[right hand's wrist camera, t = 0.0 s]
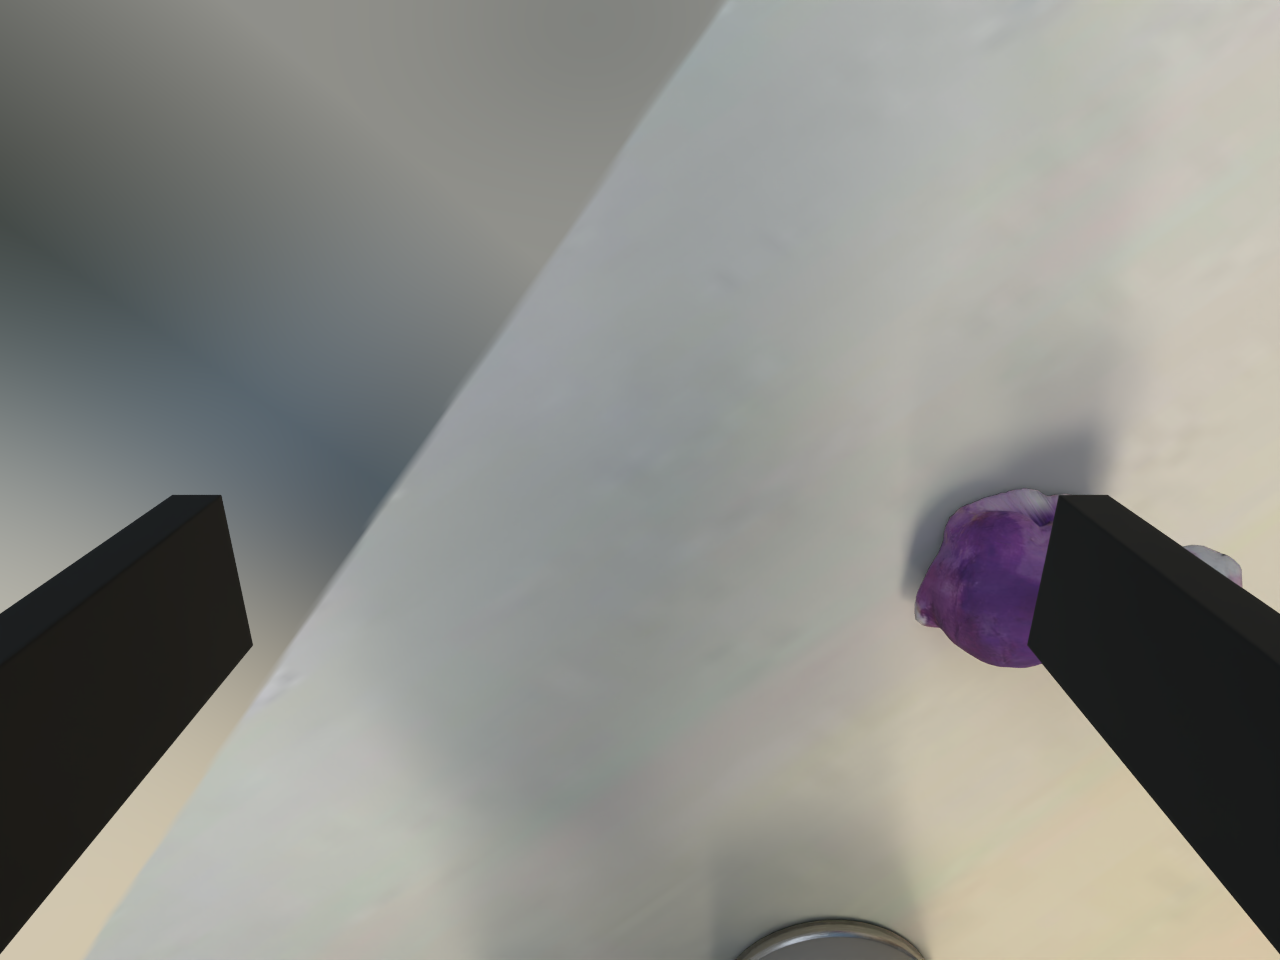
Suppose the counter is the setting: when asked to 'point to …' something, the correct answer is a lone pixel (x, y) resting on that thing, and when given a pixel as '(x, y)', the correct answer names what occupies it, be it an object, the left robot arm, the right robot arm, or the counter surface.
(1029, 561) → the figurine
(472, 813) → the counter surface
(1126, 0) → the counter surface
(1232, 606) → the right robot arm
